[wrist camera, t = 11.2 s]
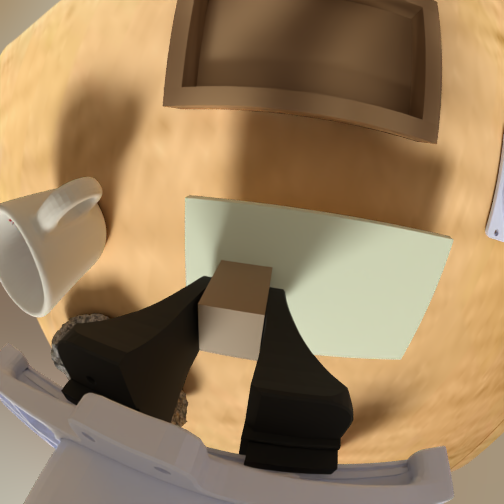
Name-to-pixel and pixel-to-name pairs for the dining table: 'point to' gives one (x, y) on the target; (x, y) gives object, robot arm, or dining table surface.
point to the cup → (50, 243)
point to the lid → (309, 277)
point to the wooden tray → (311, 61)
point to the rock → (178, 415)
